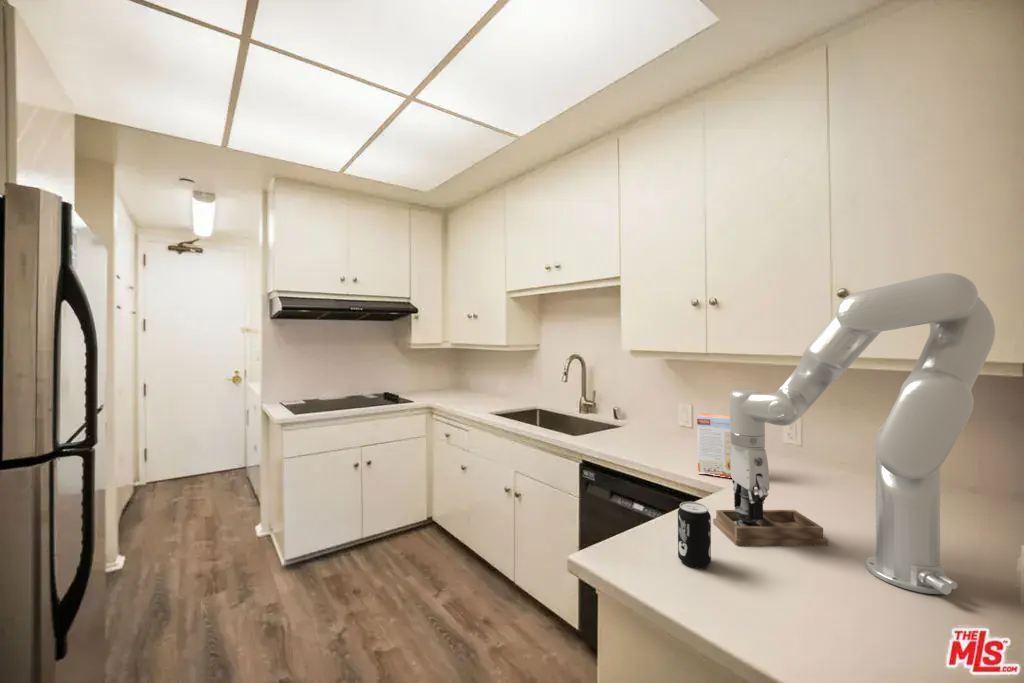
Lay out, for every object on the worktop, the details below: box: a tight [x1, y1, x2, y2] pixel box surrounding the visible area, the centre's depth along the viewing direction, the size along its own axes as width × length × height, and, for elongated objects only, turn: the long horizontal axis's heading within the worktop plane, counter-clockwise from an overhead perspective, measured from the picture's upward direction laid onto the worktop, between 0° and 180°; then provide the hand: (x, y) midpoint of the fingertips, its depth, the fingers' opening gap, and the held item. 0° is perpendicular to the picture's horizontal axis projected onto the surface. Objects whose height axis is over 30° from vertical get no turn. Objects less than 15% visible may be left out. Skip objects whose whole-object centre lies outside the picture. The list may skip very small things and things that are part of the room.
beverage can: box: [677, 501, 712, 569], centre depth 93 cm, size 7×7×12 cm
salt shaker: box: [734, 486, 760, 526], centre depth 105 cm, size 6×6×12 cm
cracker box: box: [696, 413, 731, 478], centre depth 149 cm, size 14×6×21 cm, turn 58°
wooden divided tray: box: [712, 509, 829, 546], centre depth 105 cm, size 21×12×4 cm, turn 89°
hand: (748, 512), depth 105 cm, fingers closed on salt shaker, 5 cm apart
